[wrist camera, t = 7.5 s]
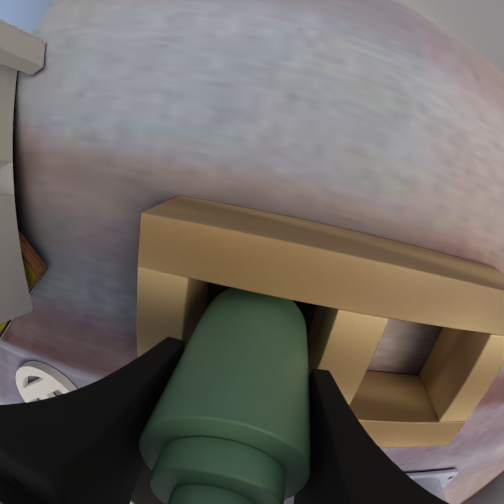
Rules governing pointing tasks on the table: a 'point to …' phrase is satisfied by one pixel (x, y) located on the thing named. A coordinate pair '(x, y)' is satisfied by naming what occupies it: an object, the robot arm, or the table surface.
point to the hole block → (333, 306)
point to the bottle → (234, 407)
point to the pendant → (41, 381)
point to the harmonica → (28, 272)
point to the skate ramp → (3, 201)
